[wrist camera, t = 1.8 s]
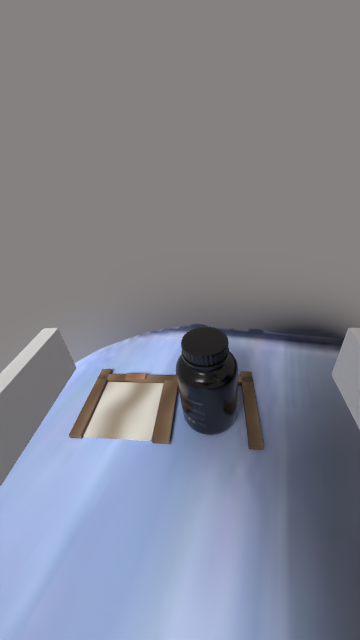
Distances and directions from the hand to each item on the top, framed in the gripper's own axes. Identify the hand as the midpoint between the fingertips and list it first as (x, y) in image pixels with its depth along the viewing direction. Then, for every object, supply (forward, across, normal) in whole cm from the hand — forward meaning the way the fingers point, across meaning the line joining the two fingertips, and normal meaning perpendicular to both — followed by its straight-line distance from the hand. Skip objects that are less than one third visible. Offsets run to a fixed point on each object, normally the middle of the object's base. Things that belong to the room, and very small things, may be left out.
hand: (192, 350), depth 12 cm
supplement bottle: (+11, 0, -20) cm, 23 cm away
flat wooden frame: (+11, -5, -20) cm, 23 cm away
